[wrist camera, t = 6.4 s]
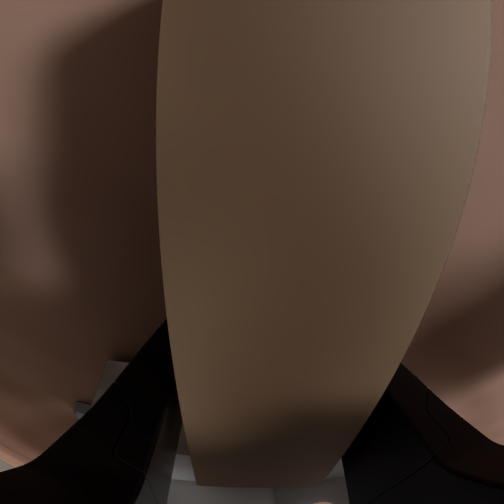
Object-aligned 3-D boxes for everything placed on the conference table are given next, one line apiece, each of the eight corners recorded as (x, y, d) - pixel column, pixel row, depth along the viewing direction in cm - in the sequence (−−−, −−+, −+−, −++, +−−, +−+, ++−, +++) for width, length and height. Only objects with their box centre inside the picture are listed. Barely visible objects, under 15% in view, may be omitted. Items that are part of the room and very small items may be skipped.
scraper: (485, 39, 6) (611, 51, 2) (373, 402, 13) (398, 488, 9) (68, -8, 5) (-56, -41, 1) (121, 397, 12) (98, 489, 8)
